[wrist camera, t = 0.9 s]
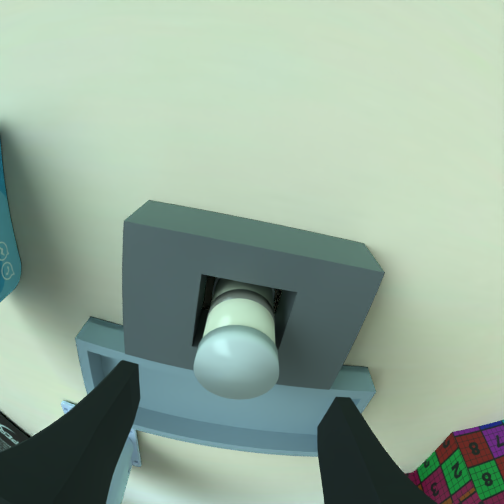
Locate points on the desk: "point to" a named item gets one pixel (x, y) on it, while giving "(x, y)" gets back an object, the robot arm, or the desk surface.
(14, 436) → the headset box
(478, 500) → the puzzle
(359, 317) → the grey flat frame block
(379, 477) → the robot arm
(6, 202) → the data package
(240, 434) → the parts tray
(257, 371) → the fuse
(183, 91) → the desk surface
